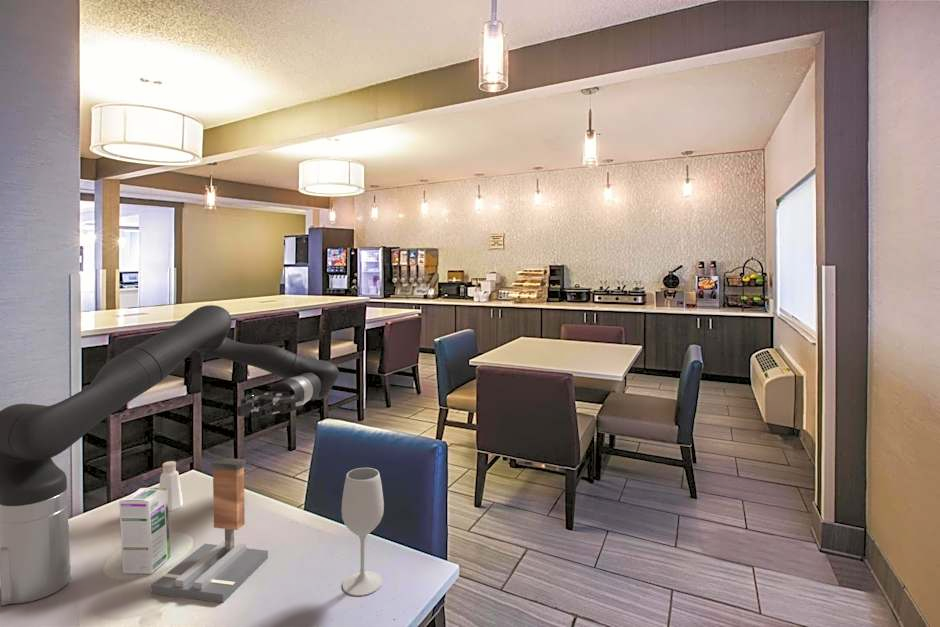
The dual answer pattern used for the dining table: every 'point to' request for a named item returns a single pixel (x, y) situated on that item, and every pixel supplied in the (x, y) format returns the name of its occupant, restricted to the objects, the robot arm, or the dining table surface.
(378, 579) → the wineglass
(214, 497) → the lever
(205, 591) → the grey slotted base
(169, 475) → the salt shaker
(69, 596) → the dining table surface
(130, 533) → the syrup box
